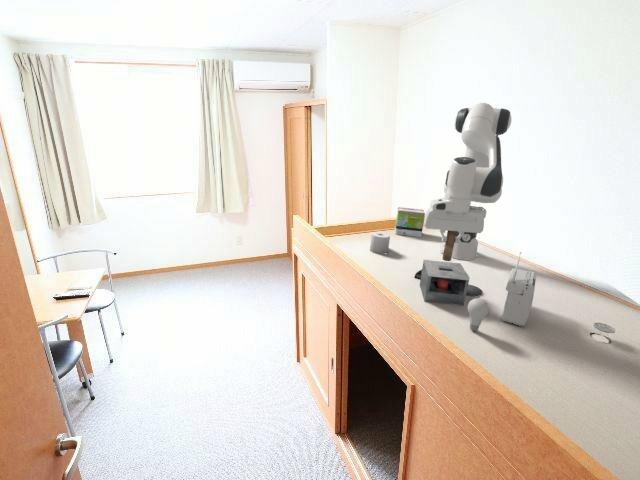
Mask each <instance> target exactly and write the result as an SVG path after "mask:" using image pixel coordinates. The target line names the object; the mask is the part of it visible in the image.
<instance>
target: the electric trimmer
mask: <svg viewBox="0 0 640 480" xmlns="http://www.w3.org/2000/svg"><path fill="white" fill-rule="evenodd" d="M421 273H422V269H420V270H419V271H416V272H415V274H414V279H416V280H419V281H420V280H421Z"/></svg>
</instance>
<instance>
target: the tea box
mask: <svg viewBox="0 0 640 480" xmlns="http://www.w3.org/2000/svg"><path fill="white" fill-rule="evenodd" d="M425 215H426V213H425V211H424V209H418V208H410V207H404V206H403V207H401V206H398V207H397V214H396V221H395V224H394V225H395V226H394V234H395V235H401V236H409V237H416V238H417V237H418V238H422V234H423V227H424V219H425Z"/></svg>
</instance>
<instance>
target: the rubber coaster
mask: <svg viewBox="0 0 640 480" xmlns="http://www.w3.org/2000/svg"><path fill="white" fill-rule="evenodd" d="M482 295H483V290H482V289H481V288H480V287H478V286H476V285H472V284H470V283H468V288H467V293H466V296H468V297H480V296H482Z"/></svg>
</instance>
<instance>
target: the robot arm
mask: <svg viewBox="0 0 640 480" xmlns="http://www.w3.org/2000/svg"><path fill="white" fill-rule="evenodd" d="M511 124H512V114H511V111H510V110H509V109H507V108H503V107H502V108H497V107H493V106H492V105H491V104H490V103H487V102H479V103H476V104H475V105H473V106H472V107H471V108H469V107H466V108H461V109H459V110H458V111H457V114H456V115H455V118H454V127H455V128H454V129H455V131H457V133H460V134H461V140H462V142H463V144H464V145H465V147H466V148H465V153H464V154H465V155H464V156H461V157H455V158H453V160H452V162H451V166H450V168H449V170H448V171H447V172H446V179H445V182H444V185H443V191H444V193H445V194H444V197H442V198H436V199H432V200H430V203H429V208H428V209H427V210H426V213H425V217H424V223H423V227H425V228H426V229H429V230H439V232H440V234H441V242H442V243H441V244H440V252H439V253H440V254H441V255H443V253H444V248H445V243H446V242H447V235H445V233H446V231H448V230H449V231H456V237H455V242H454V247H453V252H452V257H451V259H452V258H453V259H458V260H461V261H463V260H465V261H470V260H471V261H472V260H474V259H478V258H480V254H479V253H478V248H479V247H478V246H479V241H478V239H477V235H478V234H481V233H482V232H483V231H484V226H485V225H484V224H485V219H486V216H487V210H486V209H485V208H484V207H483V206H476V205H475V206H474V205H471V204H472V203H473V202H475V203H480V204H495V203H496V202H498V201H499V200H500V198H501V197H502V194H503V193H502V192H503V190H502V189H503V186H504V185H503V184H504V176H503V170H502V148H501V147H502V146H501V139H500V137H499V136H500V135H501V136H502V135H504V134H506V133H507V132H508V130H509V128H510V127H511Z"/></svg>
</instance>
